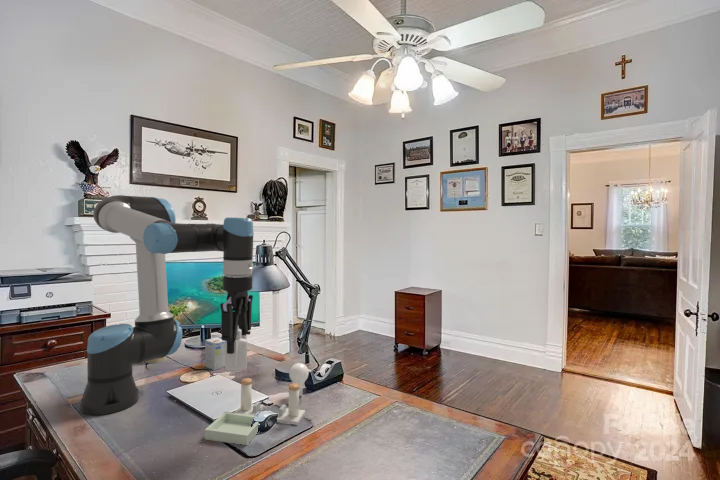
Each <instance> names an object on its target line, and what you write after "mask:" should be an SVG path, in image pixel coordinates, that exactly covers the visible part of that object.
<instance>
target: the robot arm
mask: <svg viewBox="0 0 720 480" xmlns="http://www.w3.org/2000/svg"><path fill="white" fill-rule="evenodd" d="M93 219H94V221H95V223H96V225H97V226H98V227H99V228H101V229H102V230H104V231H106V232H109V233H111V234H118V233H120V234H123V235H125V236H128V237H129V239H131V240H132V241H133V242H134V243H135V250H136V251H135V252H136V253H135V255H136V258H135V259H136V271H137V272H136V274H137V290H138V292H137V293H138V306H139V307H138V308H139V309H138V310H139V314H138V316H136V318H135V319H134V326H132V324H129V323H119V324H112V325H111V324H110V325H107V326H103V327H100V328H98V329H97V330H95V331H93V332H91V333H90V335H89V336H88V338H87V347H86V353H87V355H86V356H87V357H86V358H87V359H86V361H87V382H86V385H85V388H84V392H83V395H82V397H81V399H80V403H79V404H80V408H79V409H80V412H82V413H83V414H84V415H85V414H86V415H90V416H103V415H106V414H107V415H108V414H114V413H117V412H120V411H124V410H126V409H128V408H130V407H132V406H134V405H135V404H136V403H137V402H138V401H139V399H140V397H139V394H140V393H139V389H138V388H137V385H136V382H135V379H134V376H133V366H134V365H137V364H141V363H146V362H145V361H149V360H153V359H157V358H163V357H165V356H166V357H168V356H170V355H173V354H175V353H176V352H177V351H179V348H180V346H181V344H182V340H183V329H182V326H181V323H180V322H179V321H178V320H177V319H175V316H174V315H173V313H171V312H170V311H169V301H168V299H169V298H168V281H167V278H168V277H167V265H166V255H167V254H175V253H177V254H179V253H197V252H198V253H199V252H223V257H222V258H223V261H222V263H223V264H222V274H223V275H224V276H223V277H222V289H223V291H225V292H226V293H227V295H226V301H225V302H221V303H220V304H219V307H220V311H221V336H222V340H223V341H227V365H234V366H236V365H237V361H238V340H236V335H237V326H239V329H241V330H242V335H241V338H244V339H246V340H247V337H248V336H249V335H251V329H252V313H253V312H252V311H253V310H252V304H253V298H254V296H253V294H249V293H248V292H249V291H252V290H253V276H252V274H253V267H254V266H255V265H254V261H253V258H254V236H255V235H254V221H253V220H252V218H249V217H225V218H224V219H223V224H220V223H178V222H177V223H176V212H175V210H174V207H173V206H172V204H171V203H170V202H169V201H168V200H166V199H164V198H159V197H154V196H138V195H136V196H135V195H125V194H124V195H123V194H122V195H117V194H116V195H111V196H107V197H105V198H102V200H100V201H99V202H97V204H96V206H94V210H93ZM247 341H248V340H247Z"/></svg>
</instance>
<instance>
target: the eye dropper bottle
mask: <svg viewBox="0 0 720 480" xmlns="http://www.w3.org/2000/svg"><path fill="white" fill-rule="evenodd" d="M241 335H242V330H241V329H239V326H237V335H236V340H238V361H237V365H236V366H234V365H227V341H226V347H225V367H224V370H225V371H227V372H238V371H239V372H240V371H245V370H246V369H247V366H248V340H246V339H244V338H241Z"/></svg>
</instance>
